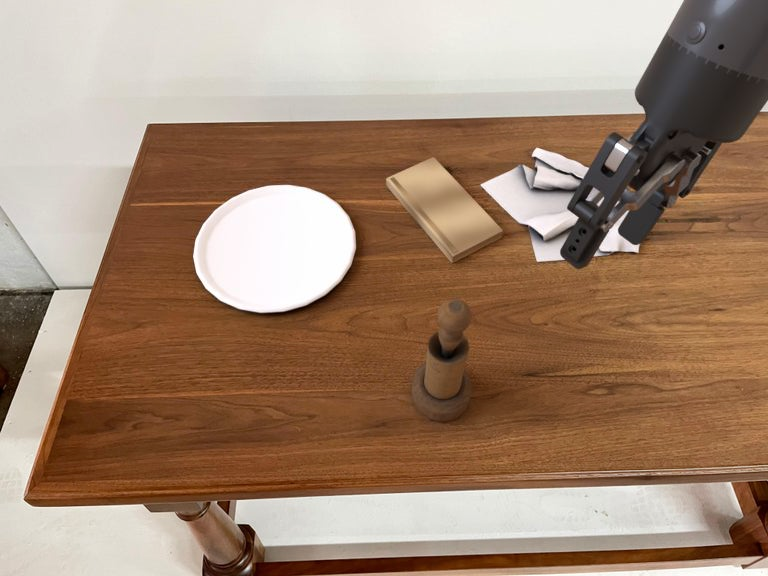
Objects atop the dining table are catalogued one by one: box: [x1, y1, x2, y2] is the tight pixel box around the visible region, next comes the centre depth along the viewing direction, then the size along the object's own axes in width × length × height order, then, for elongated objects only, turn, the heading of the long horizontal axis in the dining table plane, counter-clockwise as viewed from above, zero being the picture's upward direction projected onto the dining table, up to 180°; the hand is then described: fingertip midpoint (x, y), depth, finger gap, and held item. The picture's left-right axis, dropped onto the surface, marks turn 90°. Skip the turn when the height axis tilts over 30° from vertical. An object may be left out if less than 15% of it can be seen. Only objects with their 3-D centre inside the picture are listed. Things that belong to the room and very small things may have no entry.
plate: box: [193, 184, 357, 314], centre depth 78 cm, size 21×21×1 cm
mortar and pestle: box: [410, 298, 473, 423], centre depth 59 cm, size 7×6×18 cm
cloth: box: [480, 147, 641, 263], centre depth 81 cm, size 20×22×2 cm
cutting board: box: [385, 156, 504, 264], centre depth 81 cm, size 16×8×2 cm, turn 32°
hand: (601, 249), depth 48 cm, fingers open, 8 cm apart
